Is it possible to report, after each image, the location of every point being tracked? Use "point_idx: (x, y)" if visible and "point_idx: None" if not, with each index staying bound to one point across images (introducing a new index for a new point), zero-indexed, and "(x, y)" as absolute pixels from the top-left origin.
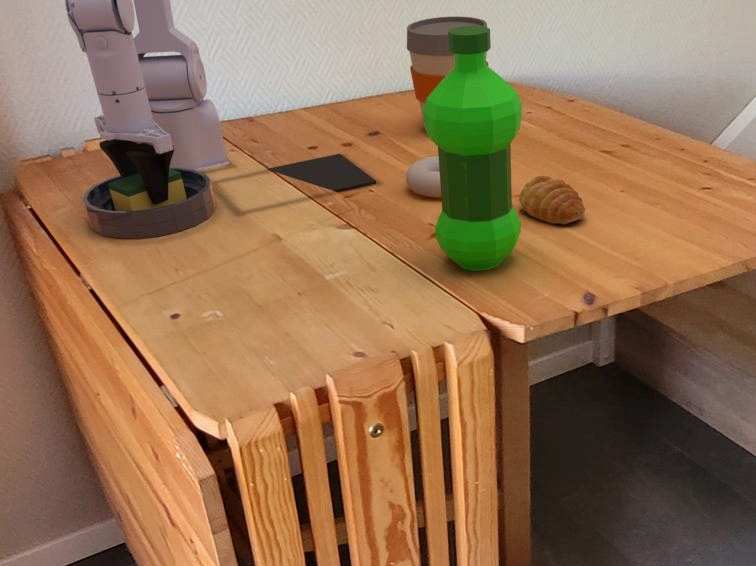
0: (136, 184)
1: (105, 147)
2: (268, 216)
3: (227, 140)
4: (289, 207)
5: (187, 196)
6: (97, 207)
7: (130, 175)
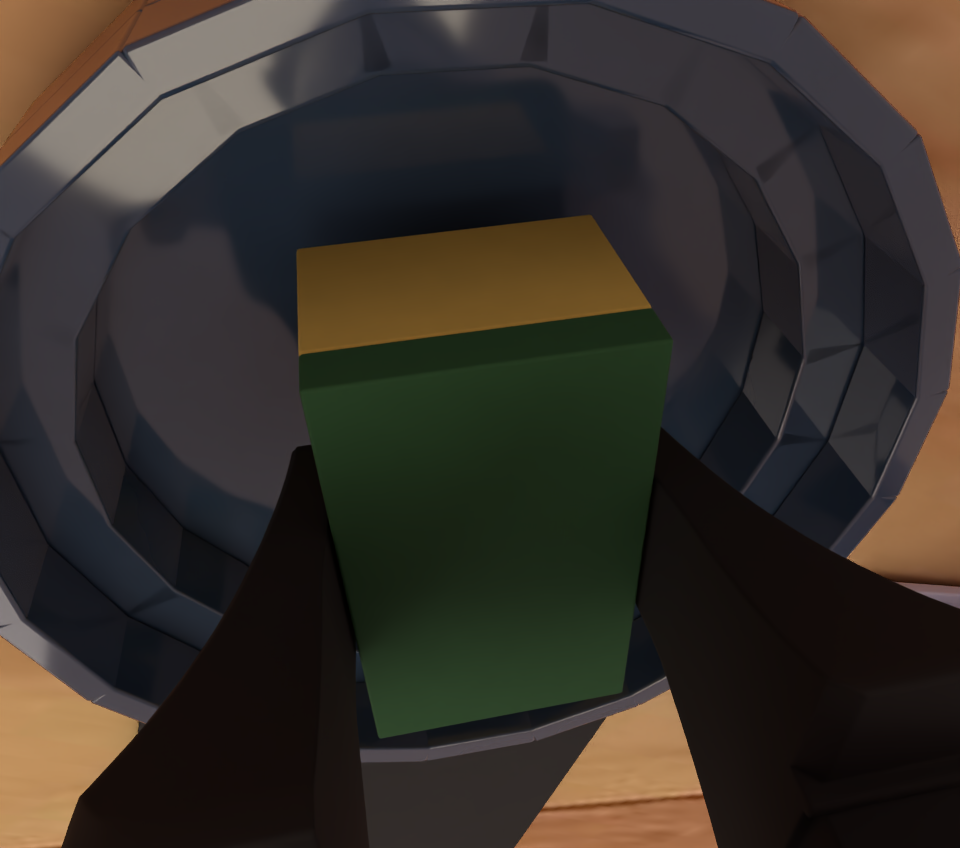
0: (405, 498)
1: (858, 684)
2: (20, 724)
3: None
4: (78, 788)
5: None
6: (726, 118)
7: (650, 525)
